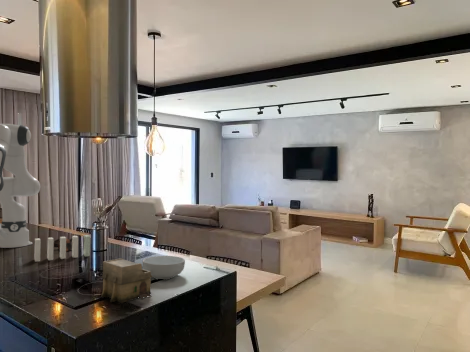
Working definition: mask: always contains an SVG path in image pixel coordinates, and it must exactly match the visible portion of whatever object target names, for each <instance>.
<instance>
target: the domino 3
mask: <svg viewBox="0 0 470 352" xmlns="http://www.w3.org/2000/svg"><path fill="white" fill-rule="evenodd" d="M59 238H60V249H59V258H60V259H61V260H63V259H64V260H65V259H66V258H67V251H66V238H67V236H59Z"/></svg>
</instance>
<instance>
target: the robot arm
mask: <svg viewBox="0 0 470 352" xmlns="http://www.w3.org/2000/svg"><path fill="white" fill-rule="evenodd" d="M31 138H32V133H31V130H30V128H29V126H26V125H21V124H20V125H19V124H14V123H13V124H12V123H0V206H1V212H2V221H1V223H0V248H4V249H6V248H9V249H10V248H12V249H13V248H20V247H26V246H30V245H33V242H32V241H30V230H29V229H28V228H27V220H26V207H25V205H24V204H22V203H20V202H18V201H16V200H15V199H14V197H32V196H37V195H38V194H39V192H40V191H41V182H40V181H39V180H38V179H37V178H36V177H34V176H33V175H32V174H31V173H30V172H29V170H28V168H27V164H26V150H25V145H28V144H29V143H30V141H31ZM3 170H5V171H7V172H9V173H11V174H13V175H14V177H12V176H3V172H4V171H3Z"/></svg>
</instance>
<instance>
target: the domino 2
mask: <svg viewBox="0 0 470 352" xmlns="http://www.w3.org/2000/svg"><path fill="white" fill-rule="evenodd" d="M54 241H55V238H54V237H47V247H46V248H47V253H46V257H47V260H48V261H53V260H54V247H53V246H54Z"/></svg>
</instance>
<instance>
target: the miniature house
mask: <svg viewBox="0 0 470 352" xmlns="http://www.w3.org/2000/svg"><path fill="white" fill-rule="evenodd" d="M102 264H103V265H102V268H103V269H102V276H101V277H100V278H101V279H102V292H101V294H100V298H101V297H105V298H108V297H109V302H110V303H114V302H118V303H120V304H122V303H126V302H130V301H133V300H136V299H135V298H137V299H140V298H141V300H144V299H143V297H147V296H151V297H152V295H150V294H152V292H151V283H152V281H151V280H152V278H153V276H151V271H148V270H144V269H143V263H141V262H140V263H139V262H138V263H137V262H133V261H130V260H127V259H125V258H123V257H122V258H116V259H110V260H105V261H103V262H102ZM138 297H139V298H138ZM110 298H111V299H110ZM132 299H133V300H132ZM129 300H130V301H129Z"/></svg>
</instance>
